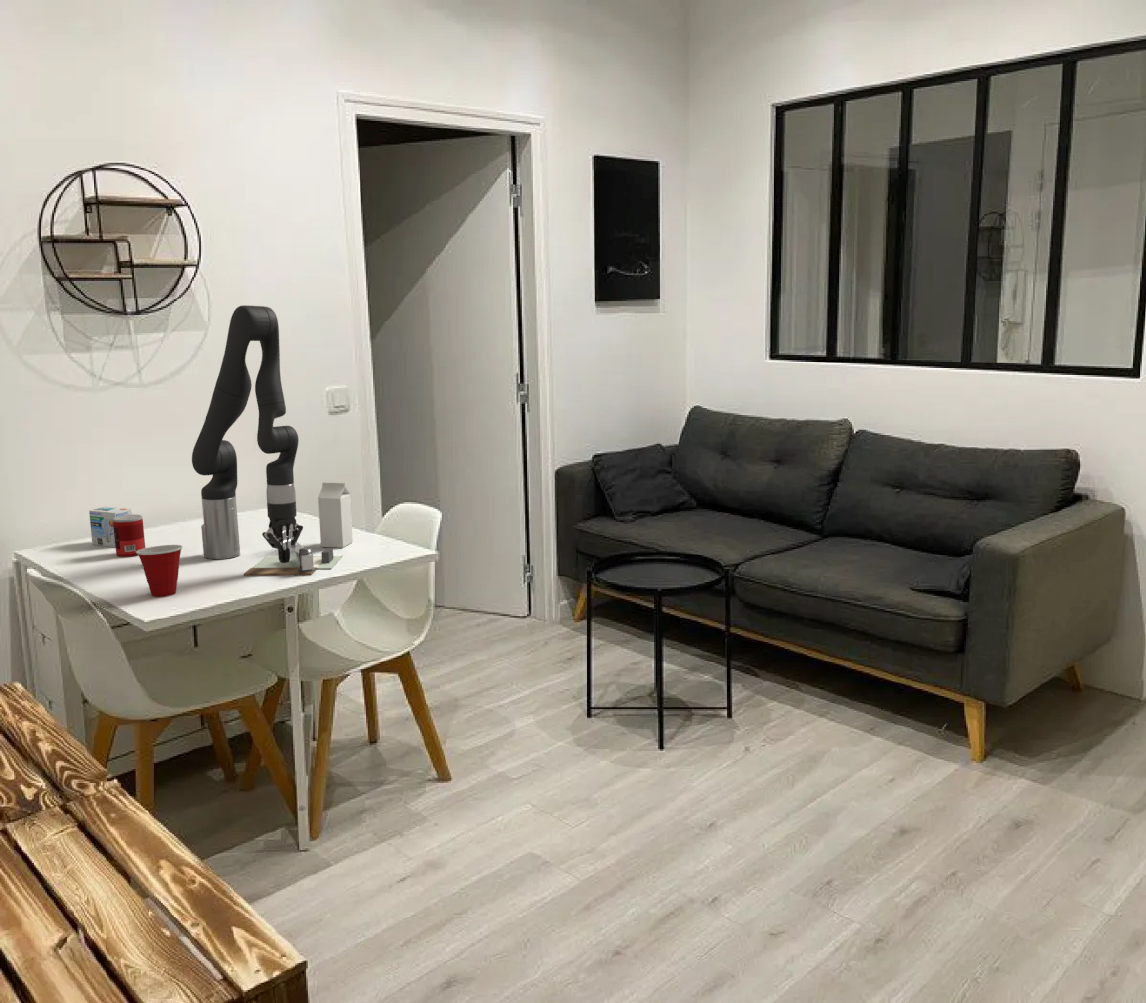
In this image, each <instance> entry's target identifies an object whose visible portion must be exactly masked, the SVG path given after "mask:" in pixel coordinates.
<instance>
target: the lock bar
mask: <svg viewBox="0 0 1146 1003" xmlns="http://www.w3.org/2000/svg"><path fill="white" fill-rule="evenodd" d="M292 540H293V539H292ZM313 556H314V554H313V553H312V548H311V547H304V546H303V545H301V543H300V542H298V541H297V542H296V544H295V545H292V546H291V548H290V560H291V561H292V562H293V563H294V564H296V565H297V566H298V567H299V568H300V569H301V570H310V569H314V563H313Z"/></svg>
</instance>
